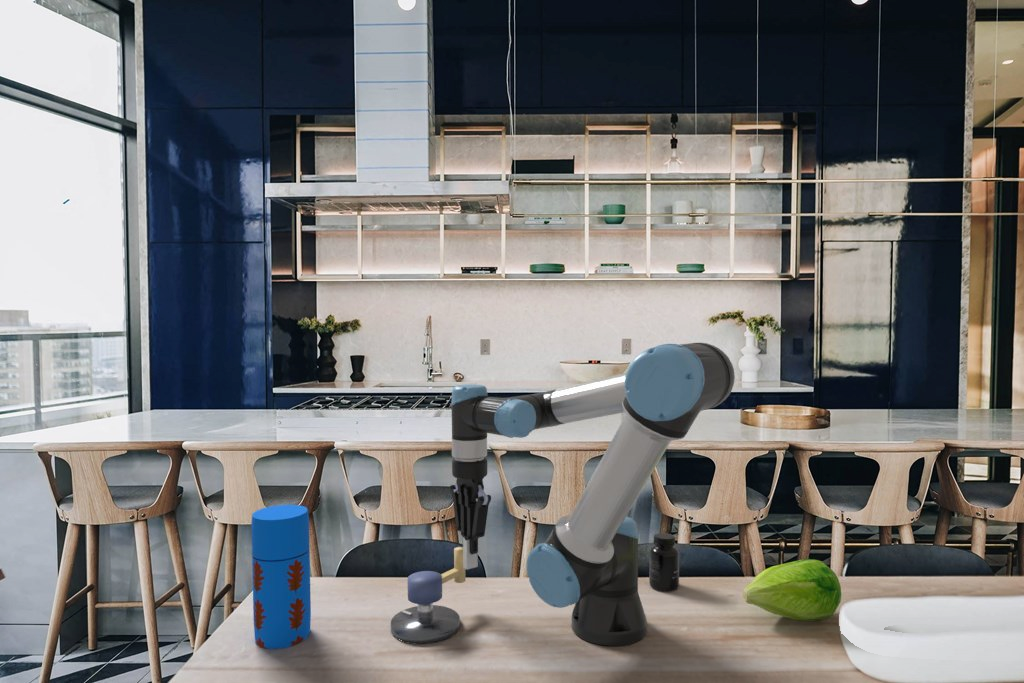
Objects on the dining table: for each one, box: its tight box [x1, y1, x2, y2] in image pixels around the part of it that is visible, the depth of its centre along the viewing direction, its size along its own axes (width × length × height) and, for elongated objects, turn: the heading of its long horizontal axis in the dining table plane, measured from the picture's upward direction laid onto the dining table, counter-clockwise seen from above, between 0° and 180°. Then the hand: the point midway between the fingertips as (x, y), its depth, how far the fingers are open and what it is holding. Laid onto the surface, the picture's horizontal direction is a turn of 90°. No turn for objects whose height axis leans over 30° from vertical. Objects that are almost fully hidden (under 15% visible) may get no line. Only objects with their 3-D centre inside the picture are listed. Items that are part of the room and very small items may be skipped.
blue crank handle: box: [407, 546, 466, 605], centre depth 138 cm, size 16×7×7 cm, turn 144°
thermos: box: [251, 504, 312, 650], centre depth 131 cm, size 11×11×25 cm
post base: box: [390, 603, 461, 645], centre depth 135 cm, size 14×14×6 cm
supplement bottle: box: [648, 532, 680, 593], centre depth 154 cm, size 7×7×12 cm
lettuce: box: [742, 558, 842, 622], centre depth 137 cm, size 14×20×12 cm
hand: (470, 567), depth 141 cm, fingers closed
